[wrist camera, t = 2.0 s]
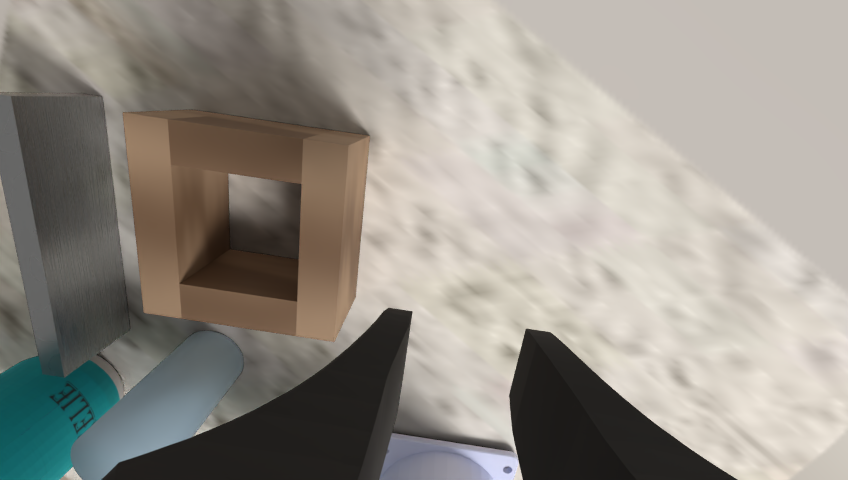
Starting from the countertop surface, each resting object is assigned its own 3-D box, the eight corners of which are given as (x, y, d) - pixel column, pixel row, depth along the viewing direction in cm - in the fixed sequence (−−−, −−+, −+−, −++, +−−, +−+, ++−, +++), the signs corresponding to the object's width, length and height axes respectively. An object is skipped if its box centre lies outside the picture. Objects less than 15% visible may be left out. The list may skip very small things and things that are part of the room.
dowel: (243, 387, 23) (160, 504, 16) (184, 378, 23) (77, 491, 16) (243, 335, 22) (153, 438, 15) (180, 326, 22) (64, 424, 15)
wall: (130, 329, 22) (64, 377, 18) (112, 326, 22) (42, 374, 18) (102, 96, 18) (10, 96, 14) (80, 93, 18) (-18, 92, 14)
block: (355, 297, 21) (334, 341, 17) (199, 273, 21) (143, 312, 17) (370, 135, 18) (348, 145, 14) (191, 109, 18) (122, 112, 14)
